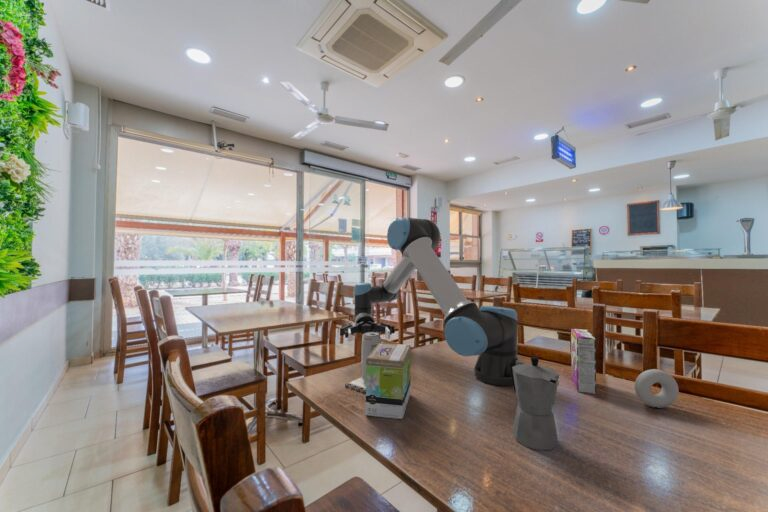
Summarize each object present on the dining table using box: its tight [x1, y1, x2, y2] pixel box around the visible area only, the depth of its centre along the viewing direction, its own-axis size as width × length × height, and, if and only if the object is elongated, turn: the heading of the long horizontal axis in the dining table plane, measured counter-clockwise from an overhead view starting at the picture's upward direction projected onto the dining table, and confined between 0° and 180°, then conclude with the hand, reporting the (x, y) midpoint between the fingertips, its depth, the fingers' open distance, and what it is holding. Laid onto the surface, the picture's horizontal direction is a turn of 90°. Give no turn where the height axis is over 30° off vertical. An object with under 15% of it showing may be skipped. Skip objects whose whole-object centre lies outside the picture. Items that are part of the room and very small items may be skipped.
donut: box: [634, 368, 680, 409], centre depth 85 cm, size 10×4×10 cm, turn 83°
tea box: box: [365, 342, 412, 420], centre depth 87 cm, size 15×10×15 cm, turn 168°
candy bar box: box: [570, 328, 597, 395], centre depth 99 cm, size 11×5×16 cm, turn 158°
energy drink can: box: [361, 332, 382, 383], centre depth 101 cm, size 6×6×15 cm
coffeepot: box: [509, 356, 560, 451], centre depth 72 cm, size 15×9×18 cm, turn 13°
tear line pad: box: [344, 376, 366, 394], centre depth 101 cm, size 10×12×1 cm
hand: (369, 336), depth 112 cm, fingers open, 13 cm apart
